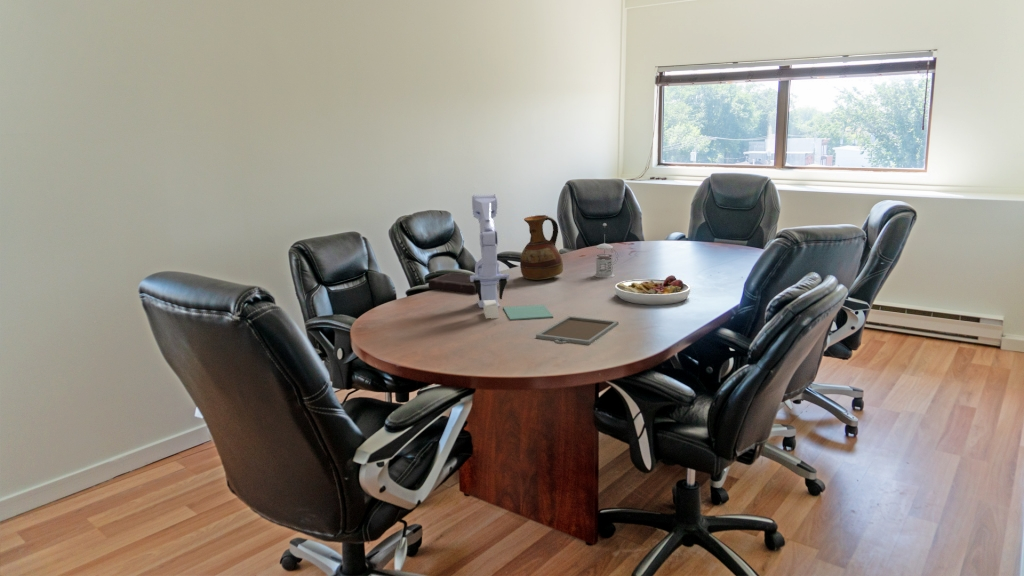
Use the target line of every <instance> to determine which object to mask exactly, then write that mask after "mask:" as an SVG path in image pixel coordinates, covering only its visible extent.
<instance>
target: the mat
mask: <svg viewBox="0 0 1024 576" xmlns="http://www.w3.org/2000/svg"><path fill="white" fill-rule="evenodd" d="M503 311H504V312H505V313H506V315H507V317H508V319H509V320H510V321H522V320H537V319H538V320H539V319H554V315H553V314H552V313H551V311H550V310H548V308H547V307H546V306H545V304H537V305H534V304H533V305H517V306H504V307H503Z"/></svg>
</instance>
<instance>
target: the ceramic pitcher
mask: <svg viewBox="0 0 1024 576" xmlns="http://www.w3.org/2000/svg"><path fill="white" fill-rule="evenodd" d="M523 220H524V222H526V224H528V227H529V228H528V229H529V230H528V231H529V234H530V237H529V242H528V243H527V244H526V245H525V247H524V248H523V250H522V252H521V255H520V262H519V265H520V268H519V269H520V272H521V275H522V277H524V278H525V279H527V280H534V281H535V280H537V281H538V280H547V279H550V278H555V277H557V276H559V275H560V274H562V273H563V272H564V263H563V257H562V255H561V253H560V250H558V248H557V246H556V245H557V244H556V243H557V240H558V235H559V226H558V223H557V221H556V220H555V219H554V218H553V217H551V216H549V215H546V214H543V215H541V214H540V215H539V214H536V215H535V216H532V215H531V216H527V217H525V218H523ZM545 221H550V222H551V225H552V234H551V237H550V240H549V239H547V238H546V237H545V234H544V230H543V229H544V223H545Z"/></svg>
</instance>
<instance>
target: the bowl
mask: <svg viewBox="0 0 1024 576" xmlns="http://www.w3.org/2000/svg"><path fill="white" fill-rule="evenodd" d="M614 291H615V295H617V297H619V299H621V300H623V301H624V302H628V303H632V304H639V305H647V306H653V305H654V306H658V305H659V306H660V305H661V306H663V305H671V304H677V303H680V302H682V301H684V300H685V299H687V298H688V296H690V294H691V293H690V292H691V286H690V285H688V284H687V283H685V282H683V281H682V279H677V277H676V276H675V275H668V276H667V277H666V278H665V279H660V278H659V279H658V278H642V279H641V278H639V279H628V280H623V281H620V282H618V283H616V284H615V286H614Z"/></svg>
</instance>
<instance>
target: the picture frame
mask: <svg viewBox="0 0 1024 576" xmlns="http://www.w3.org/2000/svg"><path fill="white" fill-rule="evenodd" d="M617 326H619V321H618V320H611V319H610V320H609V319H603V318H601V319H600V318H592V317H584V316H574V315H567V316H566V317H565V318H562V319H561V320H559V321H557V322H555V323H554V324H553V325H551V326H548V327H547V328H546V329H545V328H544V330H542V331H540V332H539V333H537V334H536V335H535V338H536V339H539V338H540V339H541V340H547V339H549V340H548V341H554V342H555V344H558V343H559V345H561V344H562V345H564V344H571V342H572V344H578V343H579V344H581V345H585V344H586V345H587V346H589V345H591V343H592V344H593V343H595V342H596V341H597V340H599V339H600V338H601V337H603V336H604V335H606V334H607V333H608V332H610V331H611V330H613V329H614V328H615V327H617ZM540 339H539V340H540ZM595 340H596V341H595ZM563 343H564V344H563Z"/></svg>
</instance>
